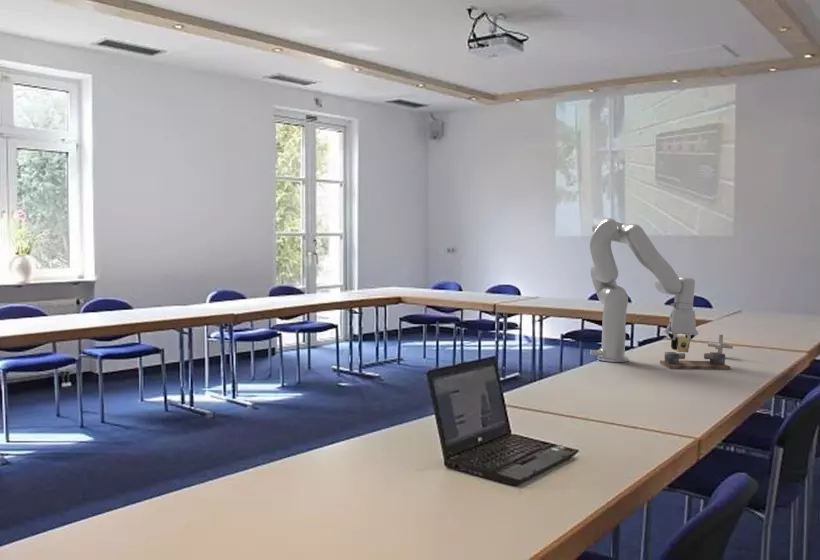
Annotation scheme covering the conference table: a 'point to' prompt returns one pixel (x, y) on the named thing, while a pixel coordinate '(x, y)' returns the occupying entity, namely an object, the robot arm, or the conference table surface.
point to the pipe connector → (720, 344)
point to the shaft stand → (715, 361)
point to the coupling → (682, 344)
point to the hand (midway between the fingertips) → (679, 349)
